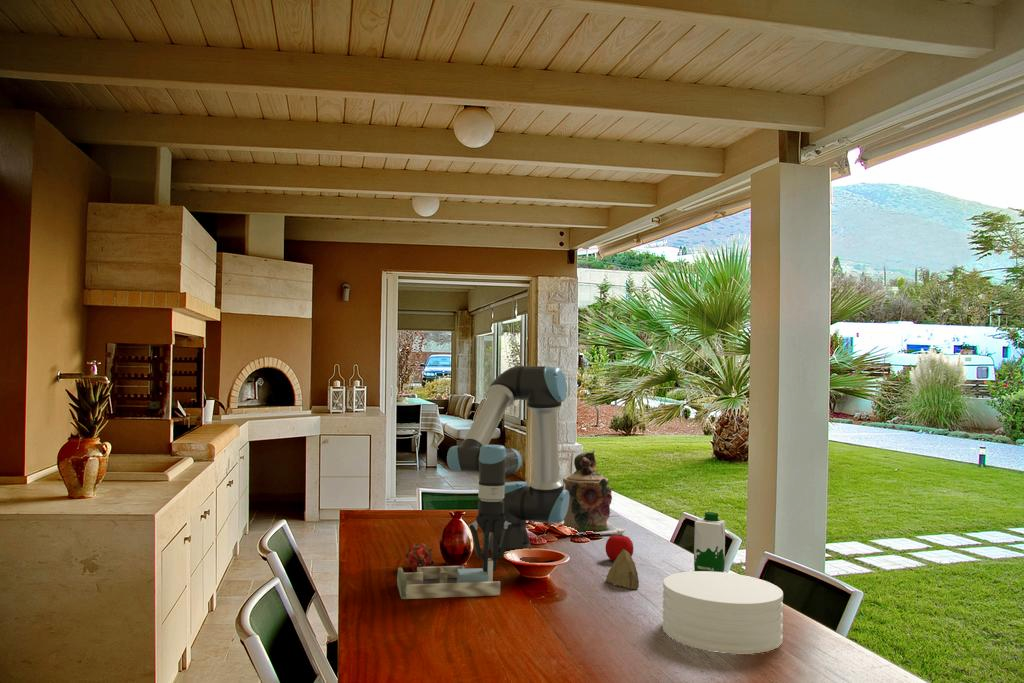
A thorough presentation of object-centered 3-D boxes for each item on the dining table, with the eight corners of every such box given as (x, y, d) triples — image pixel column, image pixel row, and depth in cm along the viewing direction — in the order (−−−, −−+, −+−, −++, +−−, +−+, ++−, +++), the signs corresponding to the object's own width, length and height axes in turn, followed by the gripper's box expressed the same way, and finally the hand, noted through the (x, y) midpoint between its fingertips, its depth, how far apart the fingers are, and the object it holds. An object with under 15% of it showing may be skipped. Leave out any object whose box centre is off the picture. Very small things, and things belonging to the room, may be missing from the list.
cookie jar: (546, 525, 310) (548, 446, 312) (601, 523, 318) (603, 446, 319) (568, 538, 287) (571, 453, 288) (627, 535, 294) (629, 452, 295)
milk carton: (726, 579, 234) (727, 513, 235) (720, 585, 226) (721, 518, 227) (698, 574, 238) (699, 510, 239) (690, 581, 230) (691, 514, 231)
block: (484, 585, 219) (484, 568, 219) (487, 592, 212) (488, 574, 212) (456, 586, 218) (457, 568, 218) (459, 593, 211) (460, 575, 211)
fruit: (632, 558, 257) (632, 528, 257) (633, 565, 248) (634, 534, 248) (604, 557, 258) (605, 527, 258) (605, 563, 249) (606, 532, 249)
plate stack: (693, 608, 203) (694, 565, 204) (799, 633, 186) (800, 586, 186) (641, 634, 182) (642, 586, 182) (755, 665, 164) (755, 611, 164)
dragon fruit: (420, 569, 241) (422, 585, 229) (398, 554, 239) (399, 569, 228) (436, 548, 241) (439, 563, 230) (415, 533, 240) (417, 547, 228)
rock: (649, 582, 219) (640, 568, 229) (633, 559, 218) (625, 546, 228) (618, 604, 219) (611, 589, 229) (602, 581, 218) (595, 567, 227)
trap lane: (486, 576, 229) (486, 559, 229) (500, 595, 210) (500, 576, 210) (395, 579, 222) (396, 562, 222) (401, 599, 204) (402, 580, 204)
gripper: (471, 501, 212) (469, 587, 211) (516, 501, 215) (514, 585, 214) (466, 497, 219) (464, 580, 218) (510, 497, 222) (508, 578, 221)
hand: (489, 582), depth 216 cm, fingers closed
